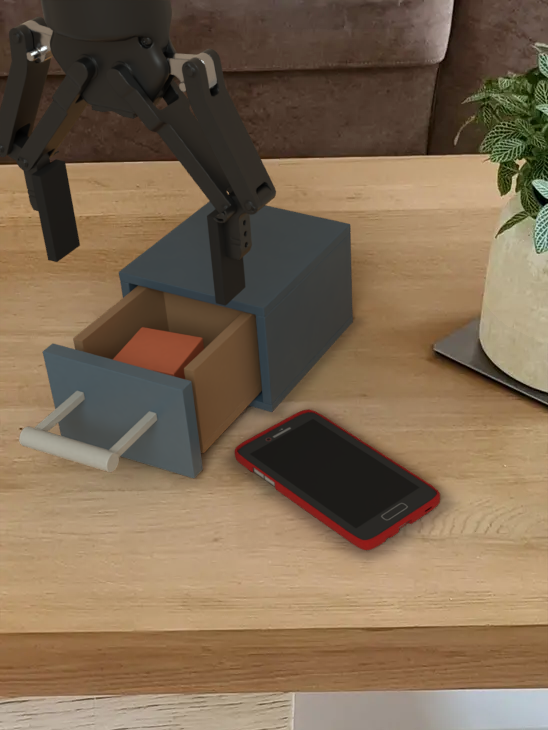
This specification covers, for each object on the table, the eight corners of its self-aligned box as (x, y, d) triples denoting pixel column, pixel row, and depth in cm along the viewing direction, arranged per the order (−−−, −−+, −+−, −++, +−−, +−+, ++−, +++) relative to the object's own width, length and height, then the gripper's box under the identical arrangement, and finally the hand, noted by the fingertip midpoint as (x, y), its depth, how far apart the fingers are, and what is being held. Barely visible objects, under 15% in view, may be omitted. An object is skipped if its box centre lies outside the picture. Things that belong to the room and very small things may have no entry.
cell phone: (366, 556, 79) (366, 546, 78) (229, 459, 86) (228, 448, 86) (445, 503, 83) (445, 493, 83) (308, 415, 91) (308, 405, 90)
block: (119, 417, 87) (109, 361, 84) (150, 381, 91) (141, 326, 88) (181, 429, 86) (173, 373, 83) (209, 392, 90) (203, 337, 87)
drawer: (145, 532, 79) (129, 441, 74) (6, 488, 82) (-18, 398, 77) (284, 380, 93) (278, 296, 88) (162, 348, 96) (150, 264, 92)
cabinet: (272, 413, 91) (263, 308, 85) (135, 375, 95) (118, 271, 89) (353, 322, 102) (350, 223, 96) (227, 291, 106) (217, 194, 100)
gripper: (320, -30, 68) (330, 287, 81) (-30, -87, 74) (32, 214, 88) (256, 7, 62) (278, 342, 75) (-116, -58, 69) (-36, 259, 82)
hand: (145, 274), depth 81 cm, fingers open, 13 cm apart
